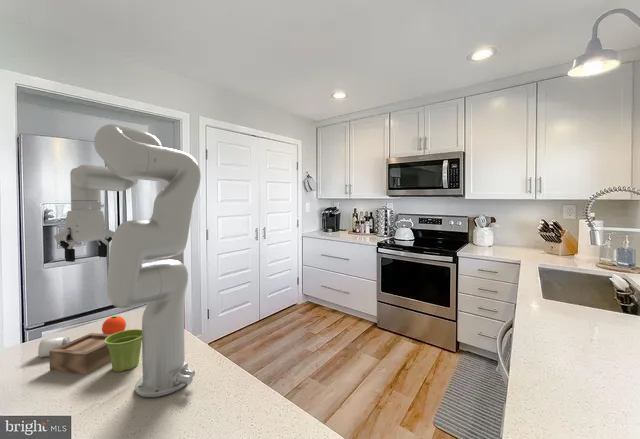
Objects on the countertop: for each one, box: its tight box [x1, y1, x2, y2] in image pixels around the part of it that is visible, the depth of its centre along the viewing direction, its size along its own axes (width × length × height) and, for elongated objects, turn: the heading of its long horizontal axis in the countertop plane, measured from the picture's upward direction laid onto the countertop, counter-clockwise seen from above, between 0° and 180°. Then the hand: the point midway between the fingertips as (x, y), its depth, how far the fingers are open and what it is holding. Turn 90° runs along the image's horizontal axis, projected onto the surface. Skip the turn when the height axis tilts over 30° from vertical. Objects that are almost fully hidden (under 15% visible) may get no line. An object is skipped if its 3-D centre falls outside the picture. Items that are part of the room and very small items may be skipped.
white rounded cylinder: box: [37, 336, 71, 358], centre depth 87 cm, size 5×5×6 cm
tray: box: [48, 332, 111, 376], centre depth 83 cm, size 12×12×6 cm
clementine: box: [101, 315, 127, 335], centre depth 101 cm, size 8×7×7 cm
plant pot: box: [104, 328, 142, 373], centre depth 80 cm, size 9×9×9 cm
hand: (87, 259), depth 93 cm, fingers open, 9 cm apart
